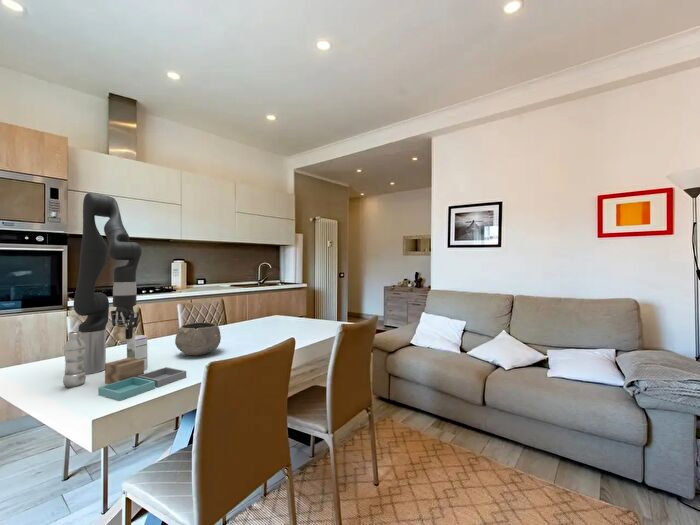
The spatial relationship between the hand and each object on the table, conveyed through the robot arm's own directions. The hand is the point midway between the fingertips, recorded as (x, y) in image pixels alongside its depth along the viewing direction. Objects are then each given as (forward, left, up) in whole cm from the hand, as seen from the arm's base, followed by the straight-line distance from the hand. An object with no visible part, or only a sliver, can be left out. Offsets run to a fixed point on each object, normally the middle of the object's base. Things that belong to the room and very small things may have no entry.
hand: (124, 337), depth 126 cm
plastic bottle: (-13, -10, -17) cm, 24 cm away
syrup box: (-11, +12, -17) cm, 24 cm away
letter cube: (0, 0, 0) cm, 0 cm away
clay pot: (-8, +41, -17) cm, 46 cm away
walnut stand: (0, 0, -17) cm, 17 cm away
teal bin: (+12, -6, -17) cm, 22 cm away
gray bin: (+12, +7, -17) cm, 22 cm away
